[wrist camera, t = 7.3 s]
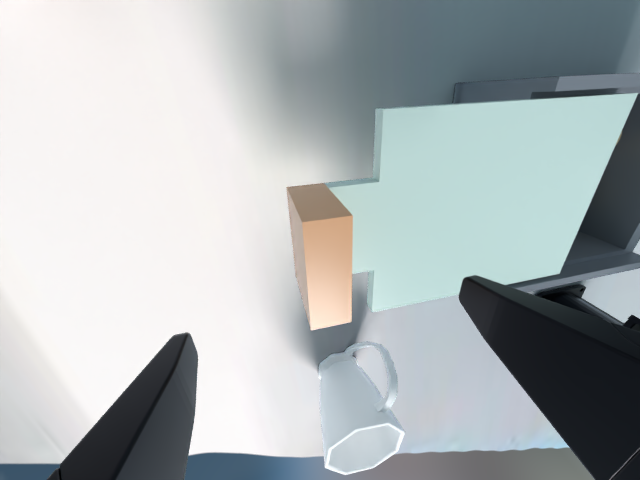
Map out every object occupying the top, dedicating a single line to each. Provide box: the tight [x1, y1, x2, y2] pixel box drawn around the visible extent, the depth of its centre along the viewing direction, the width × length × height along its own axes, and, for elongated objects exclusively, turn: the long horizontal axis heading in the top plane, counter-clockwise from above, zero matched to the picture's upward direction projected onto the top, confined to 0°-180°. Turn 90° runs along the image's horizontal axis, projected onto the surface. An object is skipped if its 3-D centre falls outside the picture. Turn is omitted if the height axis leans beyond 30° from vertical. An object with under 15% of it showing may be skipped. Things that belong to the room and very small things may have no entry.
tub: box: [453, 73, 640, 293], centre depth 20 cm, size 14×13×7 cm
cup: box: [318, 341, 405, 475], centre depth 25 cm, size 7×10×8 cm
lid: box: [287, 93, 638, 331], centre depth 14 cm, size 18×11×4 cm, turn 93°
